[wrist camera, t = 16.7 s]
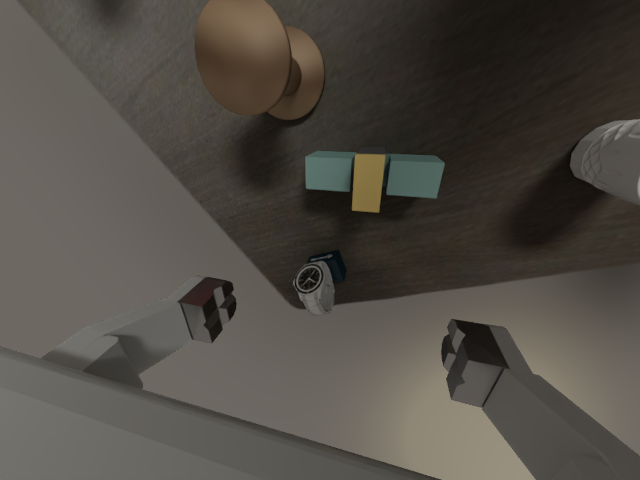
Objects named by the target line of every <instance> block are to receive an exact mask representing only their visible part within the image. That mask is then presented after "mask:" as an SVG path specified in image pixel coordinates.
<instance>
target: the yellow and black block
mask: <svg viewBox="0 0 640 480" xmlns="http://www.w3.org/2000/svg"><path fill="white" fill-rule="evenodd" d="M385 153H386V147H368V146H362V147H361V148H360V149H359V151H358V152H357V153H356V154H355V165H354V182H353V200H352V211H365V212H378V213H379V208H380V200H381V191H382V182H383V173H384V164H385Z"/></svg>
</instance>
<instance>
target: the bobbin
mask: <svg viewBox="0 0 640 480" xmlns="http://www.w3.org/2000/svg"><path fill="white" fill-rule="evenodd" d="M195 54H196V61H197V65H198V69H199V72H200V75H201V78H202V80H203V82H204V84H205V86H206V88H207V89H208V91H209V92H210V94H211V95H212V96H213V98H214V99H215V100H216V101H217V102H218V103H219V104H220V105H222V106H223V107H224V108H226V109H227V110H229V111H231V112H233V113H236V114H240V115H259V114H263V113H265V112H268V113H269V114H271V115H272V116H274V117H276V118H279V119H283V120H295V119H299V118H301V117H304V116H305V115H307V114H308V113H310V112H311V111H312V110H313V109H314V108H315V106H316V105H317V103H318V102H319V100H320V98H321V95H322V92H323V89H324V84H325V67H324V62H323V58H322V56H321V53H320V51H319V49H318V47H317V46H316V44H315V43H314V41H313V40H312V39H311V38H310V37H309V36H308V35H307V34H306V33H304V32H303V31H301V30H300V29H298V28H295V27H292V26H284V25H283V23H282V21H281V19H280V18H279V16H278V15H277V13H276V12H275V11H274V10H273V9H272V8H271V7H270V6H269V5H268V4H267V3H266V2H265V1H264V0H210V1H209V2H208V3H207V5H206V6H205V7H204V9H203V11H202V13H201V15H200V18H199V20H198V24H197V28H196V34H195Z"/></svg>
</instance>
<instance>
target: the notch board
mask: <svg viewBox="0 0 640 480" xmlns="http://www.w3.org/2000/svg"><path fill="white" fill-rule="evenodd" d="M356 153H357V152H333V151H316V152H314V153H312V154H310V155H308V156H306V157H305V167H306V189H317V190H330V191H344V192H350V190H351V188H352V186H353V182H354V165H355V154H356ZM444 165H445V163H444V162H443V161H442V160H440V159H439V158H438V157H436V156H434V155H409V154H385V164H384V173H383V182H382V186H386V195H398V196H411V197H424V198H437V194H438V190H439V186H440V182H441V177H442V173H443V169H444Z"/></svg>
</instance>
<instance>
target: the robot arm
mask: <svg viewBox="0 0 640 480" xmlns="http://www.w3.org/2000/svg"><path fill="white" fill-rule="evenodd" d="M233 290H234V288H233V284H232V282H230V281H226V280H221V279H216V278H210V277H204V276H200V275H197V276H193V277H192V278H191V279H190V280H188V281H187V282H186V283H185V284H183V285H182V286H181V287H180V288H178V289H177V290H176V291H175V292H174V293H172V294H171V295H170V296H169V297H167V298H166V299H165V300H162V299H160V300H158V301H155V302H153V303H150V304H147V305H144V306H142V307H139V308H136V309H134V310H131V311H128V312H125V313H123V314H120V315H117V316H115V317H112V318H109V319H107V320H104V321H101V322H98V323H96V324H93V325H90V326H88V327H85V328H84V329H82V330H81V331H79V332H78V333H76V334H75V335H74V336H72V337H71V338H69V339H68V340H66V341H65V342H63V343H62V344H60V345H59V346H58V347H56V348H55V349H53V350H52V351H50V352H49V353H47V354H46V355H45V356H43V357H42V358H37V357H33V356H30V355H26V354H23V353H20V352H17V351H14V350H10V349H7V348H3V347H0V480H441V479H437V478H434V477H431V476H427V475H424V474H421V473H417V472H414V471H411V470H408V469H404V468H401V467H398V466H394V465H391V464H388V463H385V462H381V461H378V460H375V459H371V458H368V457H364V456H361V455H358V454H355V453H351V452H348V451H345V450H342V449H338V448H335V447H332V446H328V445H325V444H321V443H318V442H315V441H312V440H309V439H305V438H302V437H298V436H295V435H292V434H289V433H285V432H282V431H279V430H275V429H272V428H269V427H266V426H262V425H259V424H256V423H252V422H249V421H246V420H242V419H239V418H236V417H232V416H229V415H226V414H222V413H219V412H216V411H212V410H209V409H206V408H202V407H199V406H196V405H192V404H189V403H186V402H182V401H179V400H176V399H172V398H169V397H166V396H163V395H159V394H156V393H153V392H149V391H146V390H143V389H142V388H143V383H142V381H141V379H140V377H139V374H140V373H142V372H143V371H145V370H147V369H148V368H150V367H151V366H153V365H155V364H156V363H158V362H159V361H161V360H162V359H164V358H166V357H167V356H169V355H170V354H172V353H174V352H175V351H176V350H178V349H180V348H182V347H183V346H185V345H186V344H188V343H189V342H191V341H192V340H197V341H203V342H207V343H213V342H214V340H215V339H216V338H217V337H218V335H219V334H220V333H221V331H222V330H223V324H225V323H227V322H229V321H230V320H231V318H232V317H233V315H234V313H235V310H236V298H235V297H234V296H233V295H232V292H233ZM447 328H448V331H449V334H448V335H447V336H445V337H444V339H443V342H442V350H441V354H442V362H443V366H444V367H445V368H446V370H447V371H448V372H449V374H448V376H447V378H446V380H447V383H448V388H449V392H450V396H451V400H454V401H459V402H462V403H466V404H469V405H473V406H477V407H481V408H482V410H483V411H484V412H485V414H486V415H487V416H488V418H489V419H490V420H491V422H492V423H493V424H494V425H495V427H496V428H497V429H498V431H499V432H500V433H501V435H502V436H503V437H504V439H505V440H506V441H507V442H508V444H509V445H510V446H511V448H512V449H513V450H514V452H515V453H516V454H517V455H518V457H519V458H520V459H521V461H522V462H523V463H524V465H525V466H526V467H527V469H528V470H529V471H530V473H531V474H532V475H533V476H534V478H535V479H536V480H640V456H639V455H638V454H637V453H635V452H634V451H633V450H631V449H630V448H629V447H628V446H627V445H625V444H624V443H623V442H622V441H620V440H619V439H618V438H617V437H615V436H614V435H613V434H612V433H610V432H609V431H608V430H607V429H605V428H604V427H603V426H602V425H600V424H599V423H598V422H597V421H595V420H594V419H593V418H592V417H591V416H589V415H588V414H587V413H585V412H584V411H583V410H582V409H581V408H579V407H578V406H577V405H575V404H574V403H573V402H572V401H571V400H569V399H568V398H567V397H566V396H564V395H563V394H562V393H561V392H559V391H558V390H557V389H555V388H554V387H553V386H552V385H551V384H549V383H548V382H547V381H546V380H544V379H543V378H542V377H541V376H539V375H535V374H533V373H532V371H531V370H530V368H529V366H528V365H527V363H526V361H525V359H524V358H523V356H522V354H521V352H520V351H519V349H518V348H517V346H516V344H515V342H514V341H513V339H512V338H511V335H510V334H509V332H508V330H507V329H506V328H504V327H501V326H494V325H487V324H486V325H485V324H479V323H474V322H467V321H461V320H455V319H451V321H450V322H449V324H448V327H447Z"/></svg>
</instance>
